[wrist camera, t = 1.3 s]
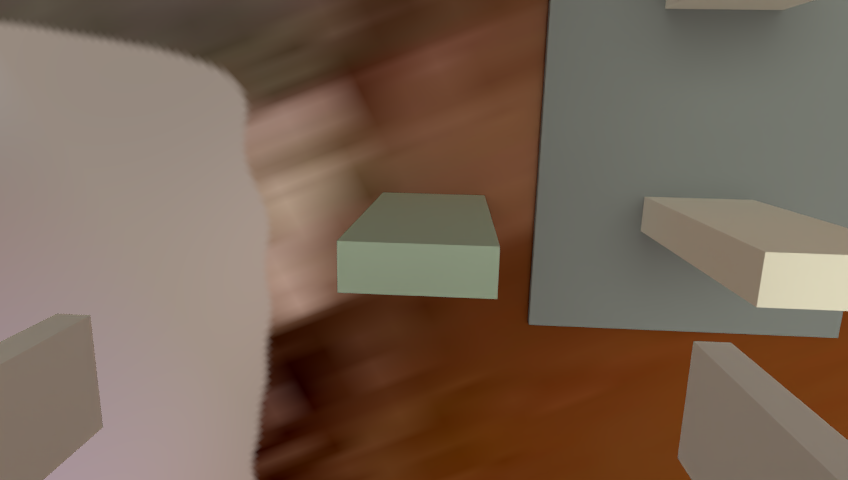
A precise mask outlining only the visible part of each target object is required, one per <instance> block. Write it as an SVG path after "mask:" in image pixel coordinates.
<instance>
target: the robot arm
mask: <svg viewBox="0 0 848 480" xmlns="http://www.w3.org/2000/svg"><path fill="white" fill-rule="evenodd" d="M100 407H101V406H100V398H99V389H98V380H97V371H96V362H95V353H94V344H93V336H92V327H91V318H90V315H72V314H56V315H54V316H52V317H50V318H48V319H46V320H44V321H42V322H40V323H38V324H36V325H34V326H32V327H30V328H27V329H26V330H24V331H21V332H19V333H17V334H15V335H13V336H12V337H10V338H7V339H5V340H3V341H1V342H0V480H43V479H45V478H46V477H47V476H48V475H49V474H50V473H51V472H52V471H54V470H55V469H56V468H57V467H58V466H59V465H60V464H61V463H63V462H64V461H65V460H66V459H67V458H68V457H70V456H71V455H72V454H73V453H74V452H75V451H76V450H77V449H79V448H80V447H81V446H82V445H83V444H84V443H85V442H87V441H88V440H89V439H90V438H91V437H92V436H93V435H94V434H95V433H97V432H98V431H99V430H100V429H101V428H102V427H103V424H102V415H101V408H100ZM678 459H679V461H680V462H681V464H682V465H683V467H684V468H685V470H686V471H687V473H688V475H689V476H690V478H691V479H692V480H848V440H847V439H846V438H844V437H843V436H842V435H841V434H840V433H838V432H837V431H836V430H835V429H834V428H832V427H831V426H830V425H829V424H828V423H826V422H825V421H824V420H823V419H822V418H820V417H819V416H818V415H817V414H816V413H814V412H813V411H812V410H811V409H810V408H808V407H807V406H806V405H805V404H804V403H803V402H801V401H800V400H799V399H798V398H797V397H795V396H794V395H793V394H792V393H791V392H789V391H788V390H787V389H786V388H785V387H783V386H782V385H781V384H780V383H779V382H777V381H776V380H775V379H774V378H773V377H771V376H770V375H769V374H768V373H767V372H765V371H764V370H763V369H762V368H761V367H759V366H758V365H757V364H756V363H755V362H753V361H752V360H751V359H750V358H749V357H747V356H746V355H745V354H744V353H743V352H741V351H740V350H739V349H738V348H737V347H735V346H734V345H733V344H732V343H726V342H703V341H694V342H693V349H692V356H691V364H690V371H689V379H688V386H687V393H686V401H685V408H684V415H683V423H682V430H681V437H680V445H679V452H678Z"/></svg>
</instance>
